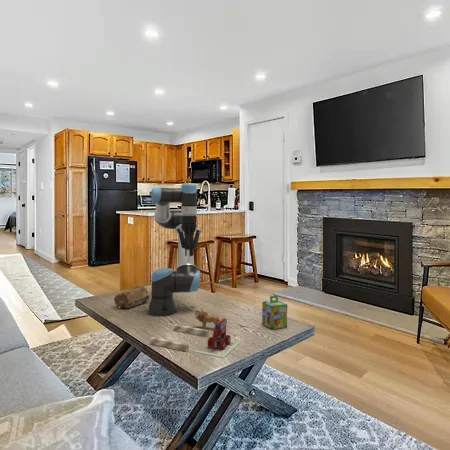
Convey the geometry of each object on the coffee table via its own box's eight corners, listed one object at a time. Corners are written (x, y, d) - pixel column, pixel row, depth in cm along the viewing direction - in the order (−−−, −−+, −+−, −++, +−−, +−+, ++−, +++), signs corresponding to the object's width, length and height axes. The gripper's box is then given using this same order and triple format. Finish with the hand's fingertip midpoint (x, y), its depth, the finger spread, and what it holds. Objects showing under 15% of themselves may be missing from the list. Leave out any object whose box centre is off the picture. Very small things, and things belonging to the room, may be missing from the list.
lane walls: (150, 344, 154) (150, 338, 153) (175, 329, 171) (175, 324, 171) (186, 351, 146) (186, 345, 146) (208, 335, 163) (208, 330, 163)
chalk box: (272, 330, 170) (272, 299, 169) (261, 324, 178) (261, 295, 177) (287, 327, 174) (288, 297, 173) (276, 321, 182) (277, 292, 181)
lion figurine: (193, 329, 171) (193, 310, 171) (196, 325, 177) (196, 307, 176) (223, 332, 168) (223, 313, 167) (225, 328, 173) (226, 309, 172)
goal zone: (192, 351, 146) (192, 351, 146) (211, 337, 161) (211, 337, 161) (223, 358, 140) (223, 357, 140) (240, 342, 155) (240, 342, 155)
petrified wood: (130, 310, 198) (126, 292, 198) (112, 312, 204) (108, 295, 204) (151, 300, 216) (147, 284, 216) (134, 302, 222) (130, 286, 221)
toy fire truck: (205, 349, 148) (205, 325, 147) (217, 339, 159) (217, 316, 159) (220, 352, 145) (220, 327, 144) (232, 341, 157) (232, 318, 156)
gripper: (173, 215, 176) (174, 262, 178) (196, 215, 171) (196, 264, 172) (181, 214, 183) (182, 260, 185) (204, 215, 177) (204, 262, 179)
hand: (189, 262), depth 178 cm, fingers closed
